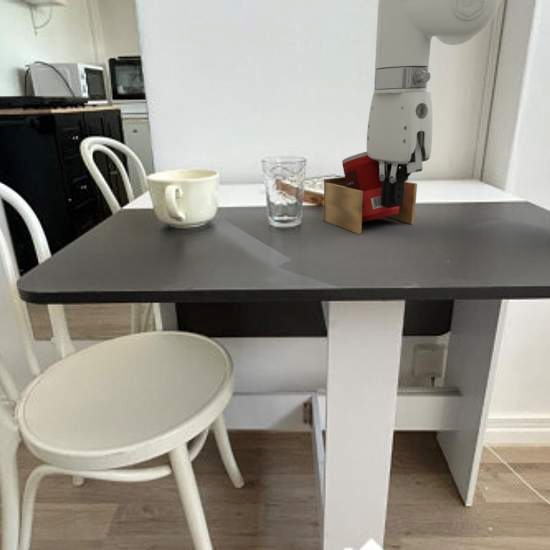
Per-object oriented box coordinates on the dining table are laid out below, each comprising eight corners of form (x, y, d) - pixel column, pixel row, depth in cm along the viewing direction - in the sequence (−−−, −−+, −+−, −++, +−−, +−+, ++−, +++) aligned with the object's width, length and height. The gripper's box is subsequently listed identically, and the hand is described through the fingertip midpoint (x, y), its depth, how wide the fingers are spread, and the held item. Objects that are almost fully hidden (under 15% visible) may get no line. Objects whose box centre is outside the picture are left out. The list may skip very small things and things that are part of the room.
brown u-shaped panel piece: (414, 223, 76) (417, 179, 73) (358, 234, 71) (360, 187, 69) (375, 212, 85) (377, 172, 82) (323, 220, 80) (323, 178, 78)
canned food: (408, 210, 76) (395, 147, 75) (384, 217, 70) (370, 148, 69) (371, 219, 81) (359, 160, 80) (346, 225, 76) (332, 162, 75)
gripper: (459, 79, 59) (444, 212, 66) (386, 84, 72) (379, 196, 79) (418, 79, 56) (406, 218, 63) (349, 85, 69) (345, 201, 76)
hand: (391, 205), depth 71 cm, fingers closed
